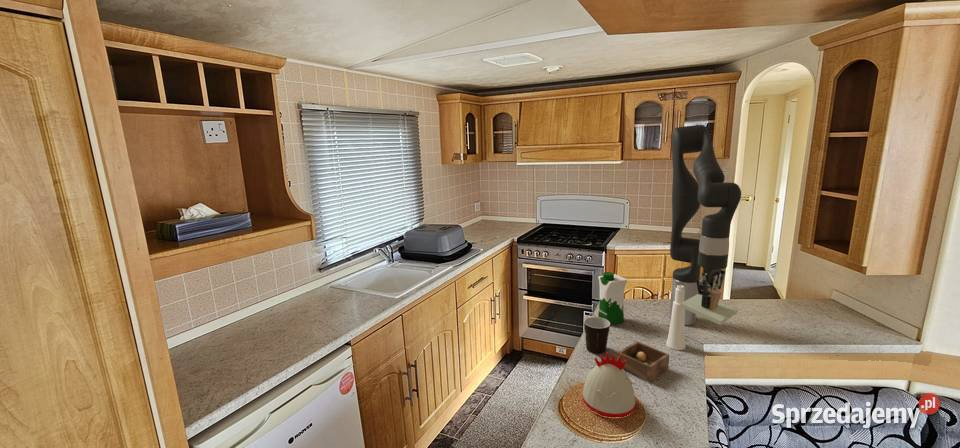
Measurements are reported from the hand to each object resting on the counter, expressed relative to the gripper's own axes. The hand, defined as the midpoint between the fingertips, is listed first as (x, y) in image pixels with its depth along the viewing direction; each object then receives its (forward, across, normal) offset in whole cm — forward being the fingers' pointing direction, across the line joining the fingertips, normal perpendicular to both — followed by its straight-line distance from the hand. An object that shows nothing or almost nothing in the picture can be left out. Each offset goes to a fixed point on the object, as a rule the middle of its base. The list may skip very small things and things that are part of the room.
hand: (708, 305), depth 119 cm
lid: (+1, 0, 0) cm, 1 cm away
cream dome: (+21, +36, -9) cm, 43 cm away
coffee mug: (+21, +17, -28) cm, 39 cm away
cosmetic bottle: (+21, -7, -12) cm, 25 cm away
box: (+21, +14, -12) cm, 28 cm away
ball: (+19, +12, -14) cm, 26 cm away
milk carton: (+21, -7, -38) cm, 44 cm away
